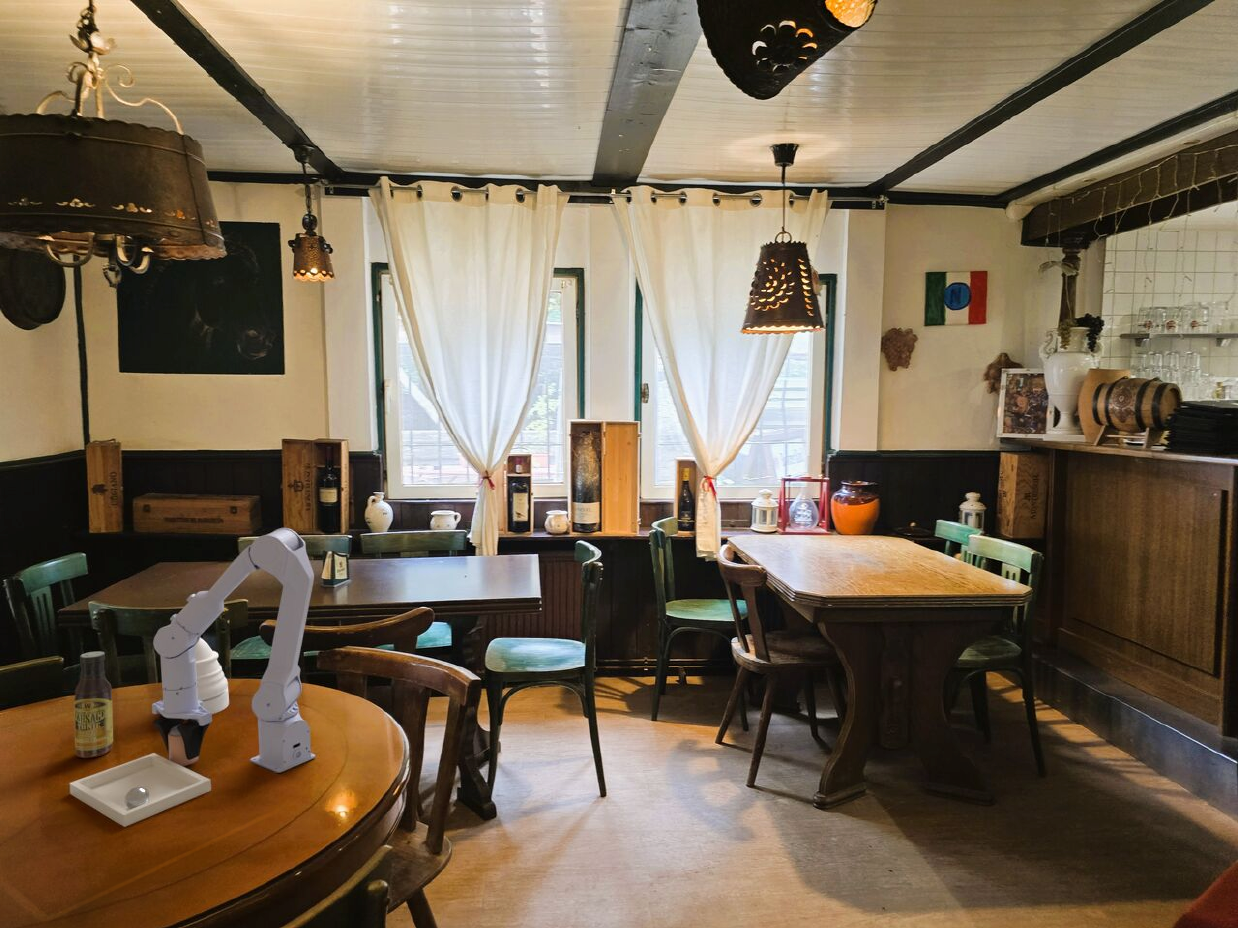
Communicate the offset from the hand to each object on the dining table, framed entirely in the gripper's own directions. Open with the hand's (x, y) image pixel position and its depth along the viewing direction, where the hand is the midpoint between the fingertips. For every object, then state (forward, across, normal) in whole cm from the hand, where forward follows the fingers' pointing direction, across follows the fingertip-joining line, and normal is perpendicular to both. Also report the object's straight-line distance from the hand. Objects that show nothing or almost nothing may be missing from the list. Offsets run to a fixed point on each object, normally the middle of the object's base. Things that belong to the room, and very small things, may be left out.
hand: (183, 754), depth 148 cm
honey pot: (+2, +24, -20) cm, 31 cm away
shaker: (+2, 0, 0) cm, 2 cm away
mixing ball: (+1, -10, +15) cm, 18 cm away
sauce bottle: (+2, +21, +4) cm, 21 cm away
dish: (+2, -4, +11) cm, 12 cm away
